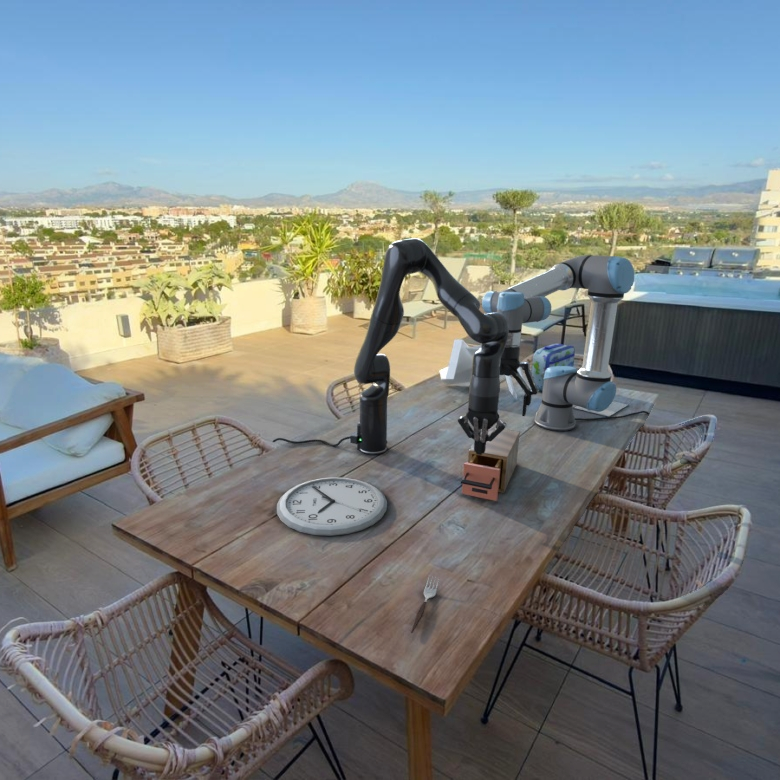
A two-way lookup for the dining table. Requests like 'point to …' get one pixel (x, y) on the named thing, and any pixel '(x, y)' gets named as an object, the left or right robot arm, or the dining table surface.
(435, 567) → the dining table surface
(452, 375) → the white plastic object
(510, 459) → the cabinet
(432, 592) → the fork
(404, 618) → the dining table surface
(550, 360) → the lunch box
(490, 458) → the drawer
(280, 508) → the wall clock
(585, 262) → the right robot arm
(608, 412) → the invitation card
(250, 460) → the dining table surface
